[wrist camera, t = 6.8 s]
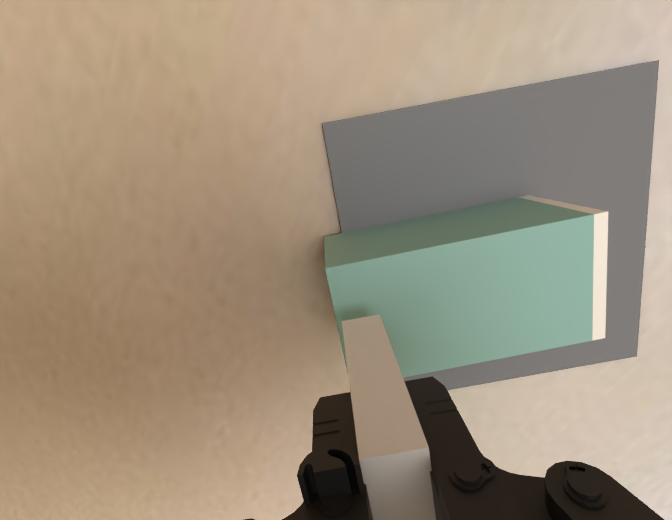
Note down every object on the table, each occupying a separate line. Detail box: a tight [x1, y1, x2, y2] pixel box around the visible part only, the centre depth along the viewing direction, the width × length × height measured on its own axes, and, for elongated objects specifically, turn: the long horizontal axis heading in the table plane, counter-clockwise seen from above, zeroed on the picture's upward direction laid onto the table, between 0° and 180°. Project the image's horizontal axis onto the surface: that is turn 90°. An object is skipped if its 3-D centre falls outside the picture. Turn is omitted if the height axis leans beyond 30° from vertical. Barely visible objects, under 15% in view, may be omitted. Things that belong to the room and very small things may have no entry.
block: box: [324, 195, 608, 378], centre depth 19 cm, size 6×6×12 cm
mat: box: [322, 60, 659, 390], centre depth 22 cm, size 18×18×1 cm
